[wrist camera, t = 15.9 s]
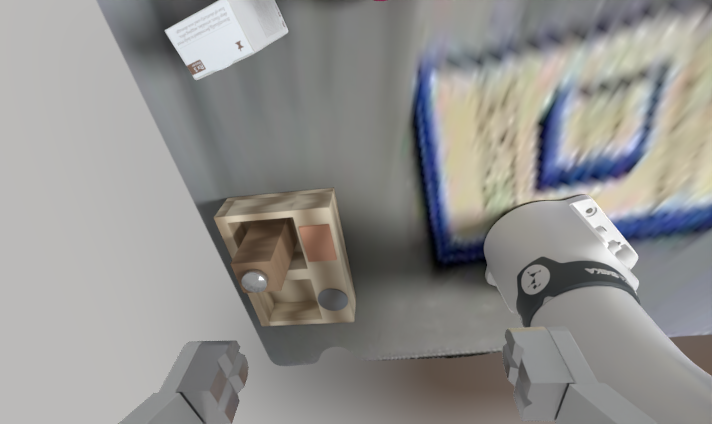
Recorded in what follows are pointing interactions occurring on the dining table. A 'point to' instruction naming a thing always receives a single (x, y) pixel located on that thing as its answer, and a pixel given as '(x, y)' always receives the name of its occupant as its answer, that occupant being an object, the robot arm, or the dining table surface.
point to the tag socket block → (298, 256)
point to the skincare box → (226, 34)
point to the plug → (265, 255)
